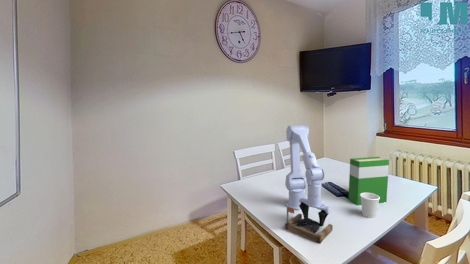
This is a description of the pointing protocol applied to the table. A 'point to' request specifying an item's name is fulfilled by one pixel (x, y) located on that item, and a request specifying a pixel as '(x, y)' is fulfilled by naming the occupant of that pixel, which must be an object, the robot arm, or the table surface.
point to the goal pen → (305, 233)
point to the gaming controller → (310, 222)
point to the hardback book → (368, 178)
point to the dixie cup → (369, 204)
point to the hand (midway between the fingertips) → (313, 222)
